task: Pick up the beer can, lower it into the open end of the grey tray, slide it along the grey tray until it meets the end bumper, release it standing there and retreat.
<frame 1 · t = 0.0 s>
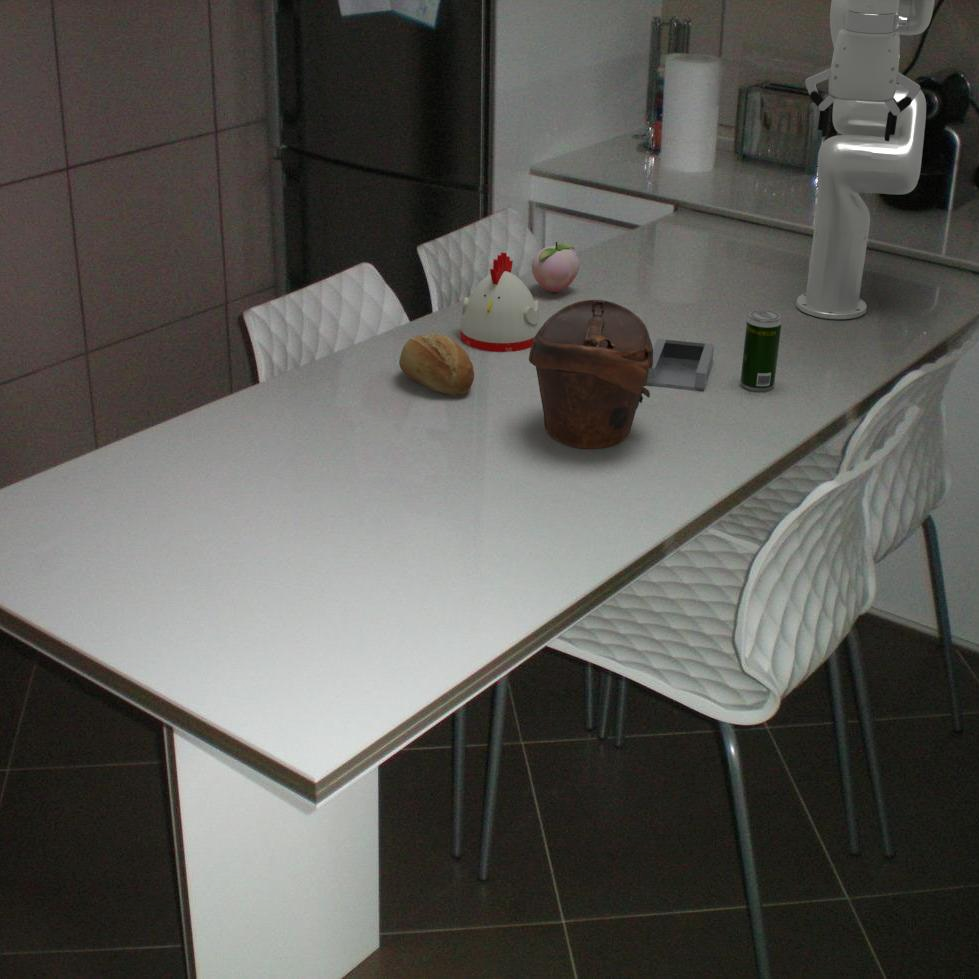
hand: (855, 137, 216), 37 cm above the table, tool pointing down, fingers open, 9 cm apart
kitchen timer: (500, 338, 239), on the table
bread roll: (435, 386, 220), on the table
beer can: (756, 387, 221), on the table
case: (588, 433, 205), on the table
decorative fruit: (553, 293, 260), on the table
grey tray: (679, 372, 225), on the table
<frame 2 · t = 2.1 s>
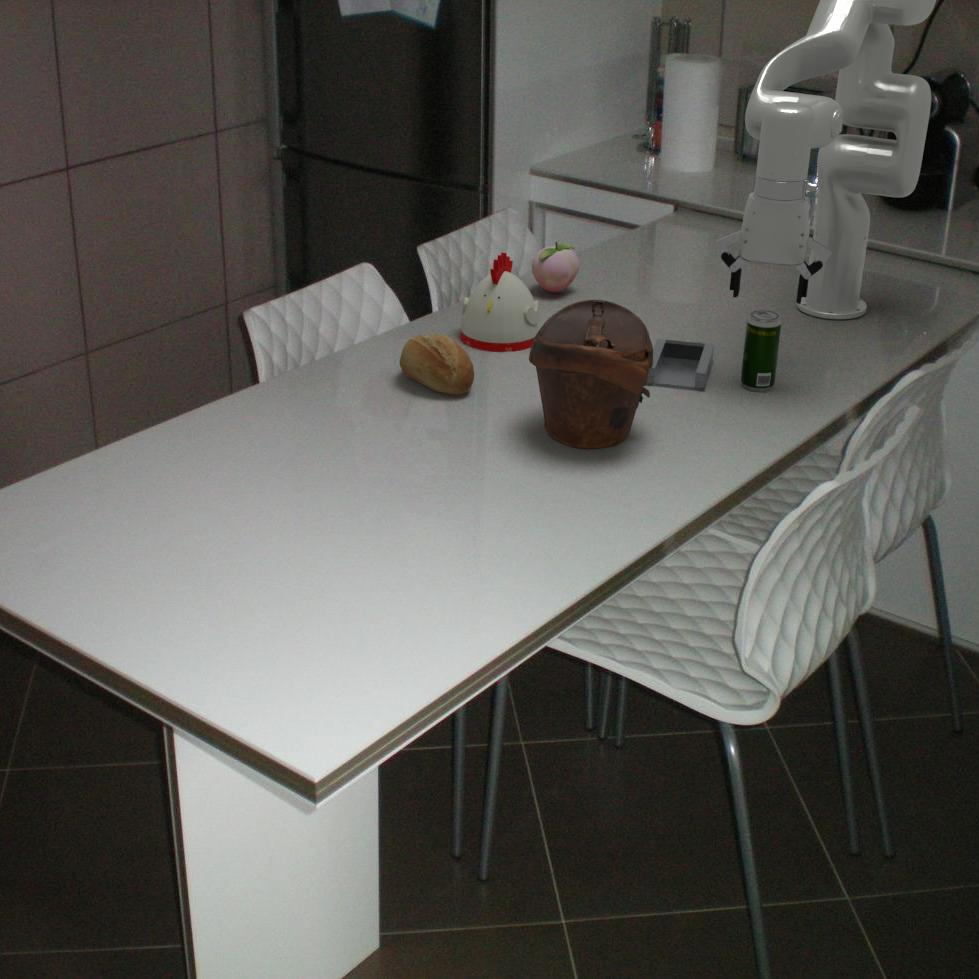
hand: (767, 298, 213), 15 cm above the table, tool pointing down, fingers open, 9 cm apart
nothing on the table moved.
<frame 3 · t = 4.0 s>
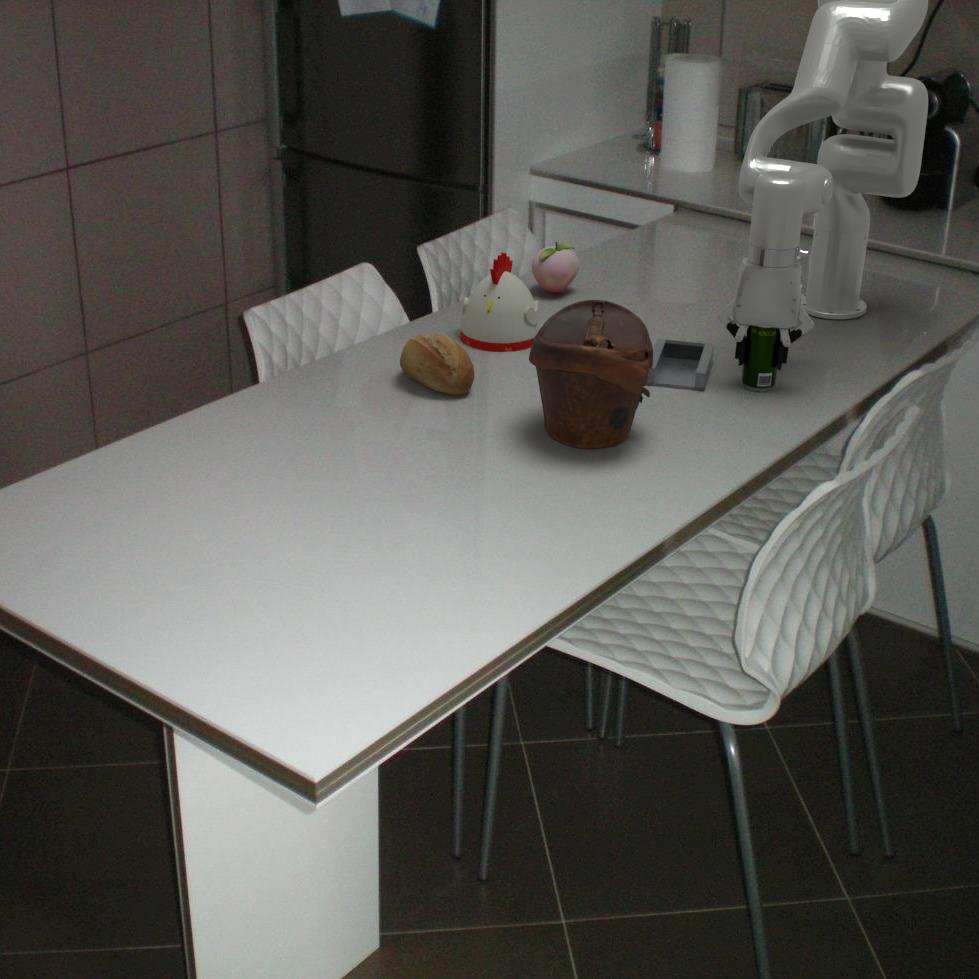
hand: (760, 363, 219), 4 cm above the table, tool pointing down, fingers closed on beer can, 5 cm apart
beer can: (757, 387, 221), on the table, touching gripper
everything else where it was.
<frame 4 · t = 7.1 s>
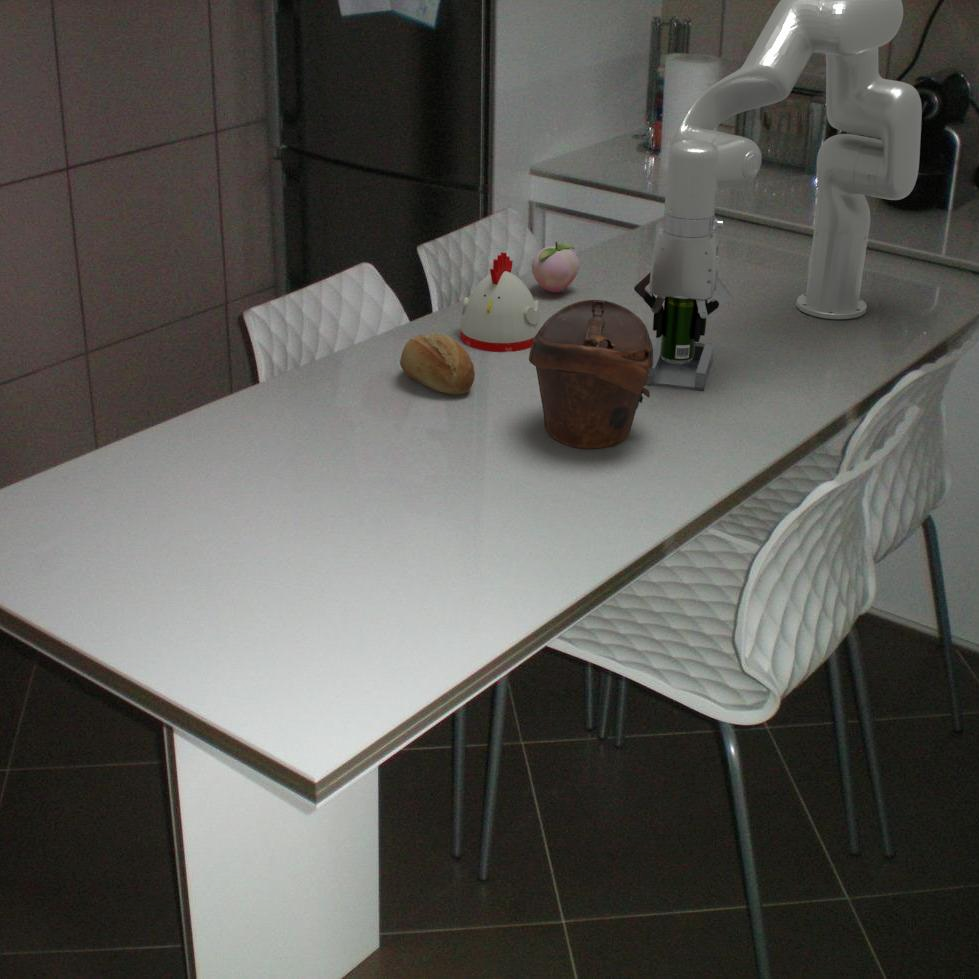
hand: (678, 335, 217), 8 cm above the table, tool pointing down, fingers closed on beer can, 5 cm apart
beer can: (676, 359, 219), point 4 cm above the table, touching gripper
everything else where it was.
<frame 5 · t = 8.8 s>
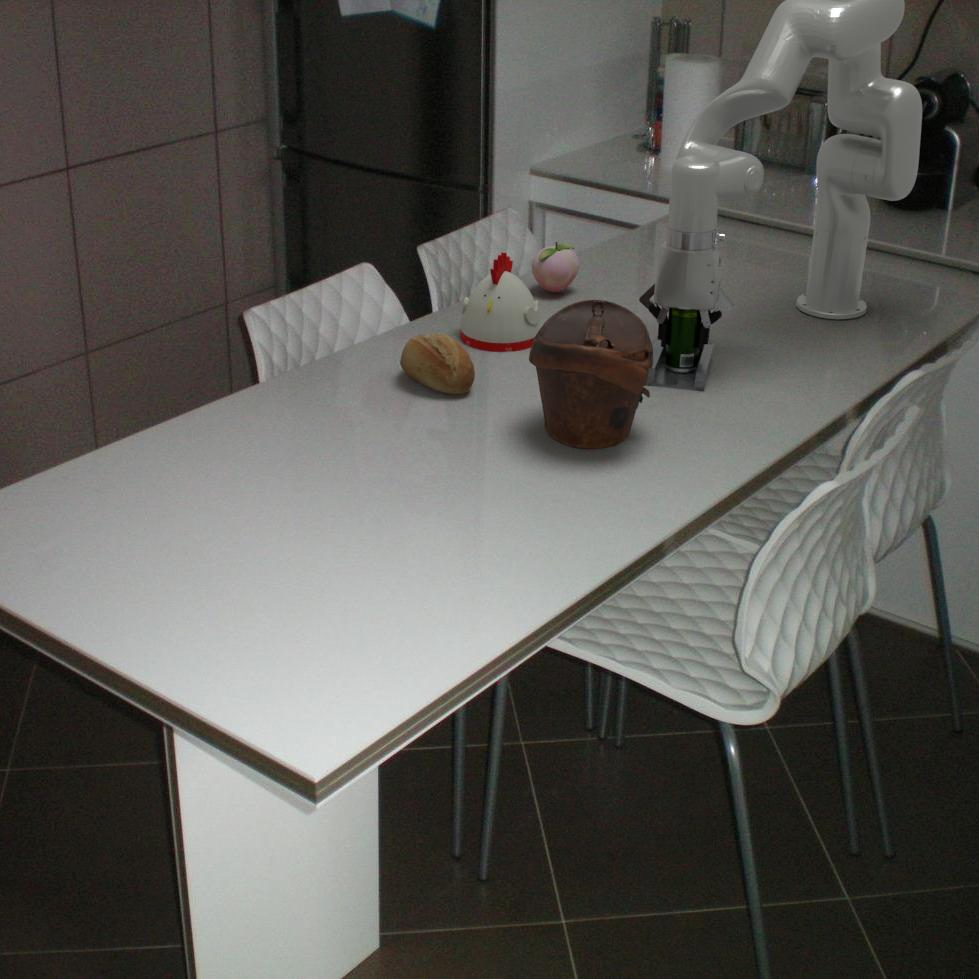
hand: (682, 344, 224), 5 cm above the table, tool pointing down, fingers closed on beer can, 5 cm apart
beer can: (681, 368, 226), resting on grey tray, touching gripper
everything else where it was.
when the fingers open (5 cm above the table, at t = 10.4 s): beer can stays where it is, resting on grey tray.
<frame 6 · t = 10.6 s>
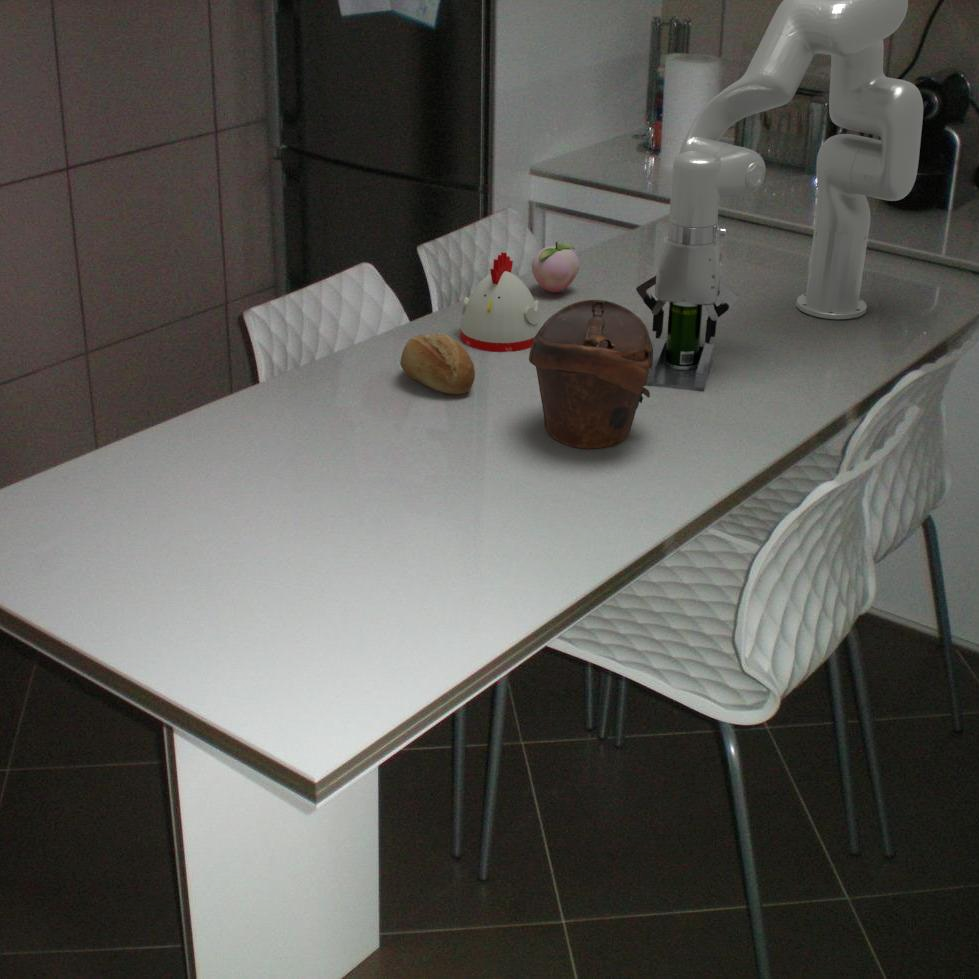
hand: (683, 337, 225), 5 cm above the table, tool pointing down, fingers open, 7 cm apart
beer can: (681, 365, 227), resting on grey tray
everything else where it was.
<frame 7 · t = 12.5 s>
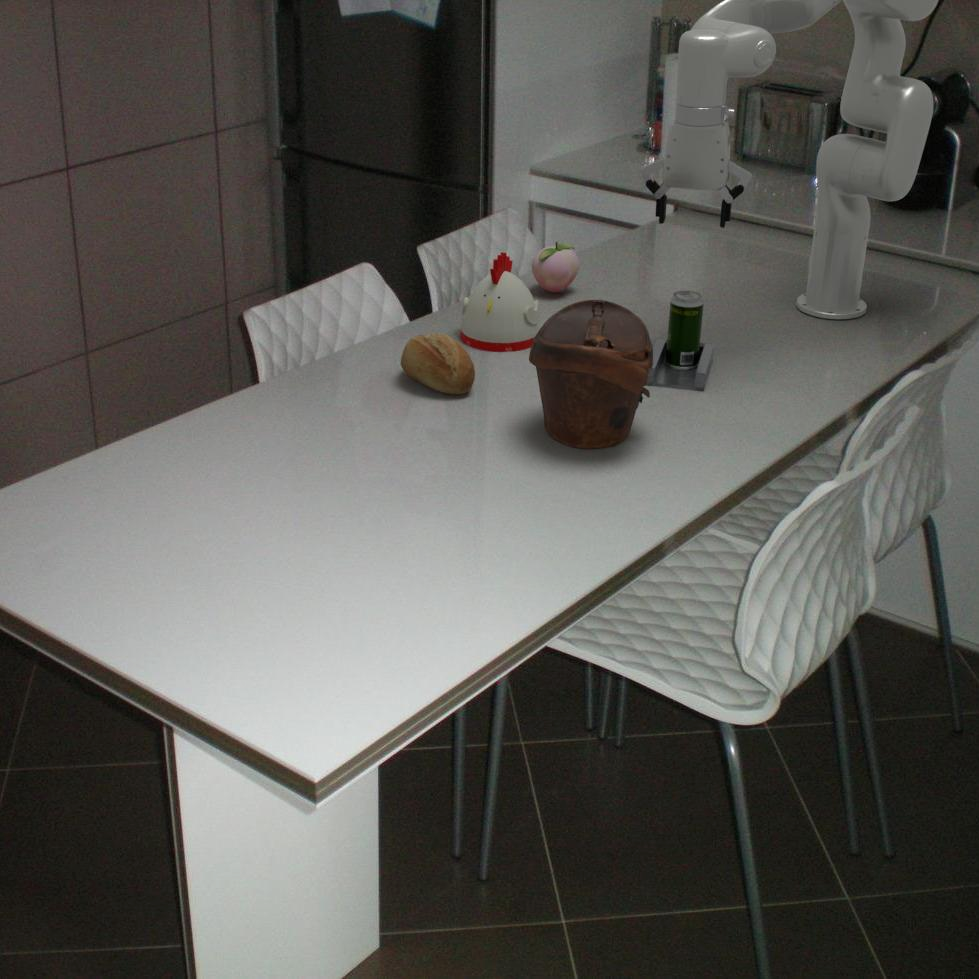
hand: (692, 223, 219), 24 cm above the table, tool pointing down, fingers open, 9 cm apart
nothing on the table moved.
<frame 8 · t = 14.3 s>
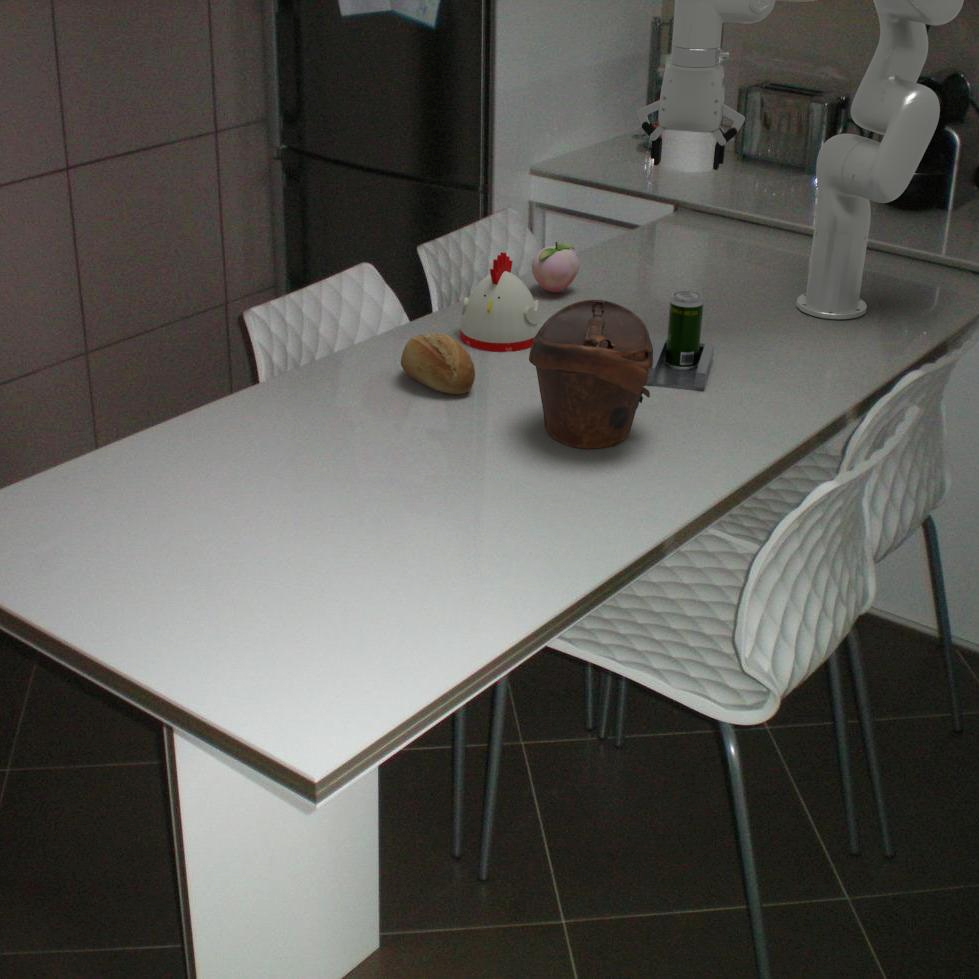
hand: (686, 165, 225), 30 cm above the table, tool pointing down, fingers open, 9 cm apart
nothing on the table moved.
at the end: beer can 1.0 cm from the target spot on the grey tray, point 0.3 cm above the grey tray's base; beer can tilted 0°; the gripper is holding nothing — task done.
